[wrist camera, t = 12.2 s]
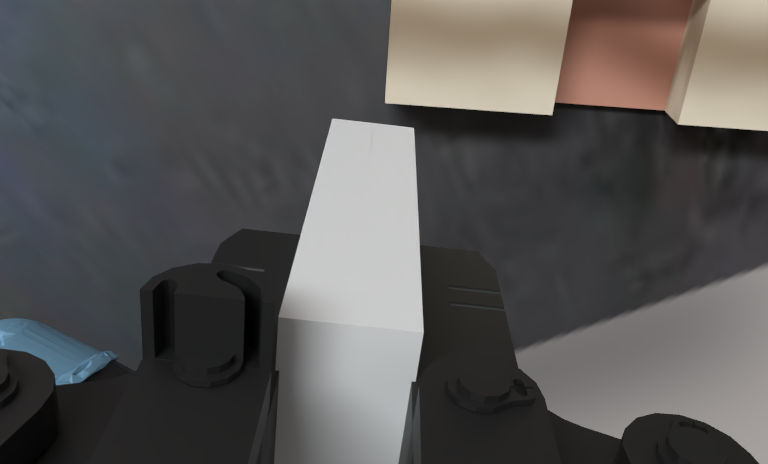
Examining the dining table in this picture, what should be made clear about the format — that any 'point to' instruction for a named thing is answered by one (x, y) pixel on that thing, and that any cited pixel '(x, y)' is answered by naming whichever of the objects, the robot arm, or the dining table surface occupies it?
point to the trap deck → (584, 57)
